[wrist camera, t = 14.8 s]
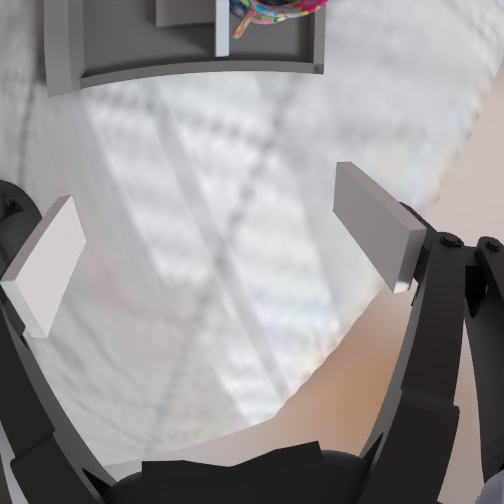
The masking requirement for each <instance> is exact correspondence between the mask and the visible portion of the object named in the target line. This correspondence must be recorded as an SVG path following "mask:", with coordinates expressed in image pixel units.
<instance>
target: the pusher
mask: <svg viewBox="0 0 504 504" xmlns="http://www.w3.org/2000/svg"><path fill="white" fill-rule="evenodd" d="M209 24H214V57H224V56H229V0H156V27H158V28H168V27H179V26H191V25H209Z"/></svg>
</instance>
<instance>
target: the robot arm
mask: <svg viewBox="0 0 504 504" xmlns="http://www.w3.org/2000/svg"><path fill="white" fill-rule="evenodd" d="M333 212H334V213H335V214H336V216H337V217H338V218H339V220H340V221H341V222H342V223H343V225H344V226H345V227H346V229H347V230H348V231H349V233H350V234H351V235H352V237H353V238H354V239H355V241H356V242H357V243H358V245H359V246H360V247H361V249H362V250H363V251H364V253H365V254H366V256H367V257H368V258H369V260H370V261H371V262H372V264H373V265H374V267H375V268H376V269H377V271H378V272H379V274H380V275H381V276H382V278H383V279H384V281H385V282H386V284H387V285H388V286H389V288H390V289H391V291H392V292H393V293H398V292H402V291H407V290H409V289H410V286H411V283H412V280H413V277H414V279H415V280H416V281H417V282H418V287H417V290H416V293H415V295H414V298H413V301H412V304H411V306H412V310H411V314H410V318H409V322H408V326H407V330H406V333H405V337H404V340H403V344H402V347H401V351H400V354H399V357H398V360H397V363H396V366H395V370H394V373H393V376H392V379H391V381H390V384H389V387H388V390H387V393H386V396H385V398H384V401H383V404H382V406H381V409H380V412H379V414H378V417H377V419H376V422H375V424H374V427H373V430H372V432H371V434H370V436H369V438H368V440H367V442H366V444H365V446H364V448H363V450H362V451H361V453H360V455H359V457H357V456H355V455H352V454H349V453H345V452H340V451H333V450H321V449H320V446H319V443H318V441H315V442H310V443H305V444H301V445H296V446H292V447H286V448H281V449H275V450H273V451H270V452H268V453H266V454H263V455H261V456H258V457H256V458H253V459H251V460H248V461H246V462H243V463H241V464H238V465H235V466H230V467H225V466H217V465H210V464H203V463H197V462H191V461H185V460H180V461H179V460H178V461H142V471H141V472H137V473H135V474H132V475H129V476H127V477H125V478H124V479H121V480H120V481H118V482H117V481H116V480H115V479H114V478H113V477H111V476H110V475H109V474H108V473H107V472H106V470H105V469H104V468H103V467H102V466H101V464H100V463H99V462H98V460H97V459H96V458H95V456H94V455H93V454H92V452H91V451H90V449H89V448H88V447H87V445H86V444H85V442H84V441H83V440H82V438H81V437H80V435H79V434H78V432H77V431H76V429H75V428H74V426H73V425H72V423H71V421H70V420H69V418H68V417H67V415H66V414H65V412H64V410H63V409H62V407H61V405H60V404H59V402H58V400H57V399H56V397H55V395H54V393H53V392H52V390H51V388H50V386H49V384H48V383H47V381H46V379H45V377H44V375H43V373H42V371H41V369H40V367H39V365H38V363H37V361H36V359H35V357H34V355H33V353H32V351H31V349H30V347H29V345H28V343H27V341H26V339H25V338H24V336H23V335H22V334H23V332H24V329H25V327H26V329H27V330H28V332H29V333H30V335H31V336H32V338H42V337H48V334H49V331H50V329H51V326H52V323H53V320H54V318H55V315H56V312H57V310H58V307H59V304H60V302H61V299H62V297H63V294H64V292H65V289H66V287H67V284H68V282H69V280H70V277H71V275H72V273H73V270H74V268H75V266H76V263H77V261H78V259H79V257H80V255H81V252H82V250H83V248H84V246H85V244H86V239H85V236H84V234H83V230H82V227H81V224H80V221H79V218H78V215H77V212H76V208H75V205H74V202H73V198H72V195H68V196H63V197H59V198H58V199H57V200H56V201H55V203H54V204H53V205H52V207H51V208H50V209H49V210H48V212H47V213H46V214H45V216H44V217H43V218H42V216H41V214H40V212H39V210H38V208H37V207H36V205H35V204H34V202H33V201H32V200H31V198H30V197H29V196H28V195H27V194H26V193H25V192H24V191H22V190H21V189H20V188H18V187H16V186H15V185H13V184H10V183H7V182H3V181H0V421H1V423H2V426H3V429H4V431H5V433H6V436H7V438H8V441H9V443H10V445H11V448H12V450H13V452H14V455H15V458H14V459H13V460H11V462H10V466H11V469H12V472H13V474H14V476H15V478H16V480H17V482H18V484H19V486H20V488H21V490H22V492H23V494H24V496H25V498H26V499H27V501H28V503H29V504H442V503H440V502H438V501H437V499H438V496H439V493H440V490H441V487H442V484H443V480H444V477H445V473H446V470H447V466H448V463H449V460H450V456H451V452H452V448H453V444H454V440H455V435H456V431H457V426H458V421H459V413H460V410H459V407H458V406H454V404H453V402H454V395H455V389H456V383H457V377H458V370H459V363H460V354H461V345H462V334H463V322H464V319H465V324H466V329H467V334H468V339H469V344H470V349H471V355H472V361H473V367H474V375H475V382H476V389H477V399H478V410H479V422H480V440H481V461H482V471H483V478H484V483H485V484H484V486H483V489H482V491H481V495H480V496H478V498H477V499H476V501H475V504H504V245H503V244H502V243H500V242H499V240H497V239H495V238H493V237H492V238H491V237H486V236H484V237H481V238H480V239H479V241H478V243H477V246H476V247H470V246H464V243H463V241H462V240H461V239H460V238H458V237H457V236H455V235H453V234H450V233H447V232H437V231H436V230H435V229H434V228H433V227H432V226H431V225H430V224H429V223H427V222H426V221H425V220H424V219H422V217H421V216H420V215H419V214H417V212H415V211H414V210H413V209H412V208H411V207H409V206H408V205H406V204H404V203H402V202H398V201H397V200H396V199H395V198H393V197H392V196H391V195H390V194H389V193H388V192H387V191H385V190H384V189H383V188H382V187H381V186H380V185H378V184H377V183H376V182H375V181H374V180H372V179H371V178H370V177H369V176H368V175H366V174H365V173H364V172H363V171H362V170H360V169H359V168H358V167H357V166H355V165H354V164H353V163H352V162H337V167H336V181H335V195H334V207H333ZM0 504H12V500H11V497H10V493H9V490H8V486H7V482H6V478H5V473H4V470H3V465H2V460H1V455H0Z"/></svg>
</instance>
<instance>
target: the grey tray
mask: <svg viewBox="0 0 504 504" xmlns="http://www.w3.org/2000/svg"><path fill="white" fill-rule="evenodd" d="M325 12H326V3H325V4H324V5H323V6H322V7H321V8H319V9H318V10H316V11H314V12H312V13H310V14H307V15H304V16H300V17H294V18H287V19H285V20H283V21H281V22H278V23H274V24H256V23H252V22H250V23H249V25H248V26H247V28H246V29H245V31H244V32H243V34H242V35H241V36H240V38H239V39H236V38H233V37H232V33H233V31H234V30H235V28H236V26H237V25H238V23H239V21H240V20H241V18H240V17H239V16H237V15H236V14H235V13H234V12H233V11H232V10H231V9H230V7H229V56H224V57H214V24H209V25H191V26H179V27H168V28H158V27H156V0H44V50H45V67H46V80H47V90H48V97H52V96H56V95H60V94H64V93H68V92H72V91H75V90H78V89H82V88H87V87H92V86H97V85H102V84H107V83H113V82H119V81H125V80H132V79H139V78H146V77H155V76H164V75H174V74H185V73H200V72H221V71H277V72H298V73H313V74H323V71H324V48H325Z"/></svg>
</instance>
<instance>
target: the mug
mask: <svg viewBox="0 0 504 504" xmlns="http://www.w3.org/2000/svg"><path fill="white" fill-rule="evenodd" d="M327 1H328V0H229V7H230V9H231V10H232V11H233V12H234V13H235V14H236V15H237V16H239V17H240V18H241V20H240V21H239V23H238V25H237V26H236V28H235V30H234V31H233V33H232V37H233V38H236V39H239V38H240V36H241V35H242V34H243V32H244V31H245V29H246V28H247V26H248V25H249V23H250V22H252V23H256V24H274V23H278V22H281V21H283V20H285V19H287V18H294V17H300V16H304V15H307V14H310V13H312V12H314V11H316V10H318V9H319V8H321V7H322V6H323V5H324V4H325V3H326V2H327Z"/></svg>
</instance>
